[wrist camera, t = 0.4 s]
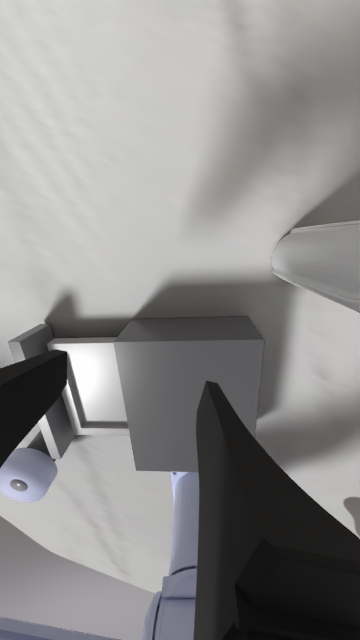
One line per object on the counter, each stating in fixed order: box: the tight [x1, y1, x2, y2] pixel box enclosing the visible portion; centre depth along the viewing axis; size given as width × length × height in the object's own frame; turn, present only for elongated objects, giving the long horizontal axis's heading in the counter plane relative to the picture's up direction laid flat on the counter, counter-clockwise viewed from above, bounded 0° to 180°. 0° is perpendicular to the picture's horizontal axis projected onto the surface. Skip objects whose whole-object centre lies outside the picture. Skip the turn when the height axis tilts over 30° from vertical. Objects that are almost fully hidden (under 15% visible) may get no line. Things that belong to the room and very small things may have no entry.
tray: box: [8, 324, 130, 459], centre depth 21 cm, size 11×14×4 cm
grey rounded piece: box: [27, 431, 56, 462], centre depth 25 cm, size 4×4×4 cm
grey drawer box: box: [113, 316, 265, 472], centre depth 20 cm, size 11×14×5 cm
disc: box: [0, 448, 57, 502], centre depth 23 cm, size 6×6×2 cm
